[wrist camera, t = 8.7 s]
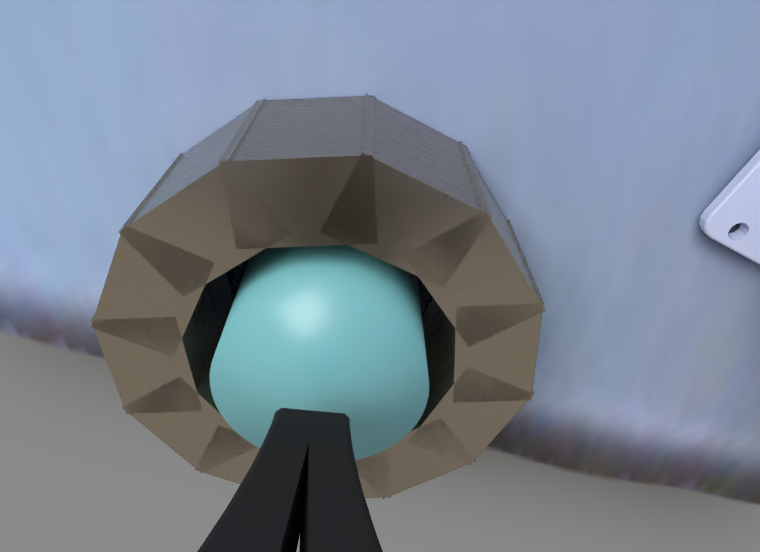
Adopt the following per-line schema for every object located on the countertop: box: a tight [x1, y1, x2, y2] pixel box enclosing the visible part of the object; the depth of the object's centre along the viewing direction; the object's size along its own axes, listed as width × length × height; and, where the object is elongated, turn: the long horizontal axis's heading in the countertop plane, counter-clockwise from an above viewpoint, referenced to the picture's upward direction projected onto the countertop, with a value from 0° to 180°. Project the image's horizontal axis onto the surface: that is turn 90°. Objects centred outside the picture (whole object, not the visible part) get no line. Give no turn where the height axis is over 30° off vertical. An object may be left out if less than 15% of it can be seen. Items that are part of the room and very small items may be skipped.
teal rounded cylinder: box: [210, 245, 429, 460], centre depth 15 cm, size 5×5×5 cm
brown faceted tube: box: [91, 94, 545, 498], centre depth 15 cm, size 10×10×4 cm
